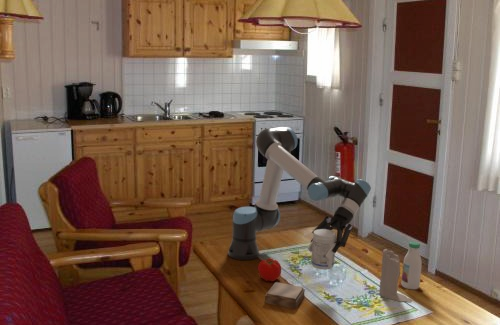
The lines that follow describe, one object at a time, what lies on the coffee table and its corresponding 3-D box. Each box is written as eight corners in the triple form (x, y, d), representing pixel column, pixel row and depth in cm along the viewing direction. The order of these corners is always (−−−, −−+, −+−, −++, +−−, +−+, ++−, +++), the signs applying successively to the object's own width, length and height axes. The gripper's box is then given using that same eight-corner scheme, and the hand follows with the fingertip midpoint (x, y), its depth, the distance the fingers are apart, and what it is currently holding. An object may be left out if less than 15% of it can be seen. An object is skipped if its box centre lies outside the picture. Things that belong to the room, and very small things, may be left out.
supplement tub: (321, 259, 232) (324, 227, 229) (338, 267, 225) (341, 233, 222) (306, 264, 226) (308, 231, 223) (322, 272, 219) (325, 237, 216)
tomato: (261, 285, 232) (262, 266, 231) (254, 275, 243) (255, 256, 241) (284, 283, 235) (285, 264, 234) (276, 273, 246) (277, 255, 244)
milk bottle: (419, 284, 240) (424, 241, 236) (418, 291, 232) (423, 247, 229) (401, 281, 242) (405, 239, 238) (400, 288, 235) (404, 244, 231)
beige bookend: (409, 304, 219) (414, 257, 215) (376, 295, 226) (380, 250, 223) (414, 298, 225) (419, 252, 222) (382, 289, 232) (386, 245, 229)
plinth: (264, 302, 215) (265, 293, 215) (274, 290, 227) (274, 281, 227) (296, 309, 211) (296, 299, 210) (304, 295, 223) (304, 286, 222)
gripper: (370, 223, 223) (342, 267, 216) (330, 209, 239) (303, 250, 233) (363, 212, 219) (334, 257, 212) (323, 200, 235) (295, 241, 228)
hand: (318, 253), depth 222 cm, fingers closed on supplement tub, 9 cm apart
